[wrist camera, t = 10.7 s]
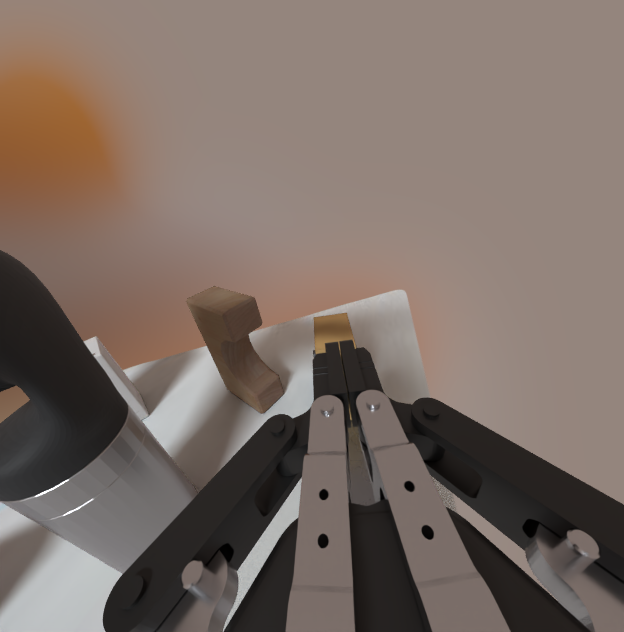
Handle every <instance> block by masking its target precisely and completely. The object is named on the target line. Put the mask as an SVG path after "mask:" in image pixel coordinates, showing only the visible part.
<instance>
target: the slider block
mask: <svg viewBox="0 0 624 632" xmlns="http://www.w3.org/2000/svg"><path fill="white" fill-rule="evenodd" d="M314 335H315V352H316V354H319V353H326V350H325V343H330V342H337V341H338V344H339V341H344V340H351V339H352V340H353V343H354V347H355V349H356V345H355V341H354V338H353V334H352V330H351V327H350V323H349V320H348V316H347V313H342V314H335V315H328V316H321V317H314ZM339 350H340V345H339ZM340 355H341V353H340ZM349 411H350V408H349ZM350 419H351V414H350ZM351 420H352V419H351Z"/></svg>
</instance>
